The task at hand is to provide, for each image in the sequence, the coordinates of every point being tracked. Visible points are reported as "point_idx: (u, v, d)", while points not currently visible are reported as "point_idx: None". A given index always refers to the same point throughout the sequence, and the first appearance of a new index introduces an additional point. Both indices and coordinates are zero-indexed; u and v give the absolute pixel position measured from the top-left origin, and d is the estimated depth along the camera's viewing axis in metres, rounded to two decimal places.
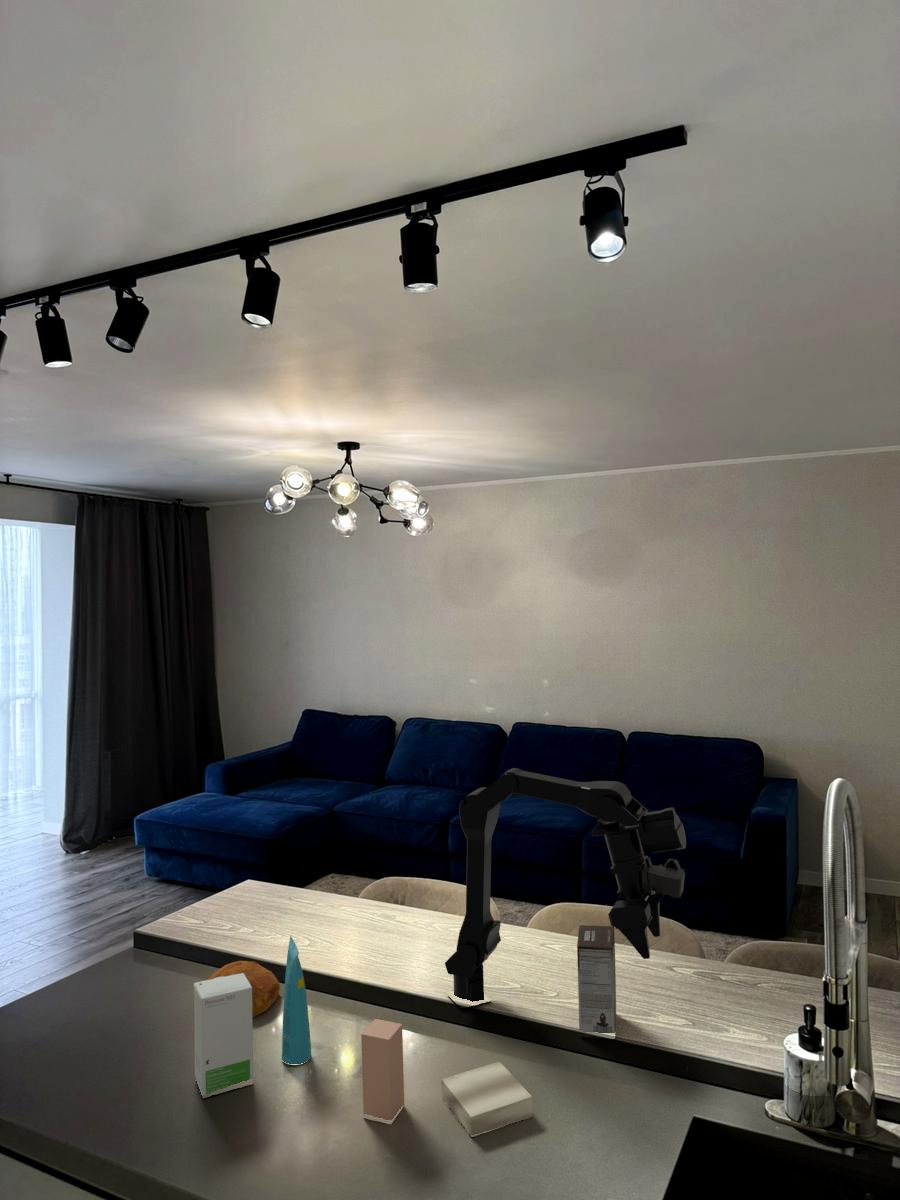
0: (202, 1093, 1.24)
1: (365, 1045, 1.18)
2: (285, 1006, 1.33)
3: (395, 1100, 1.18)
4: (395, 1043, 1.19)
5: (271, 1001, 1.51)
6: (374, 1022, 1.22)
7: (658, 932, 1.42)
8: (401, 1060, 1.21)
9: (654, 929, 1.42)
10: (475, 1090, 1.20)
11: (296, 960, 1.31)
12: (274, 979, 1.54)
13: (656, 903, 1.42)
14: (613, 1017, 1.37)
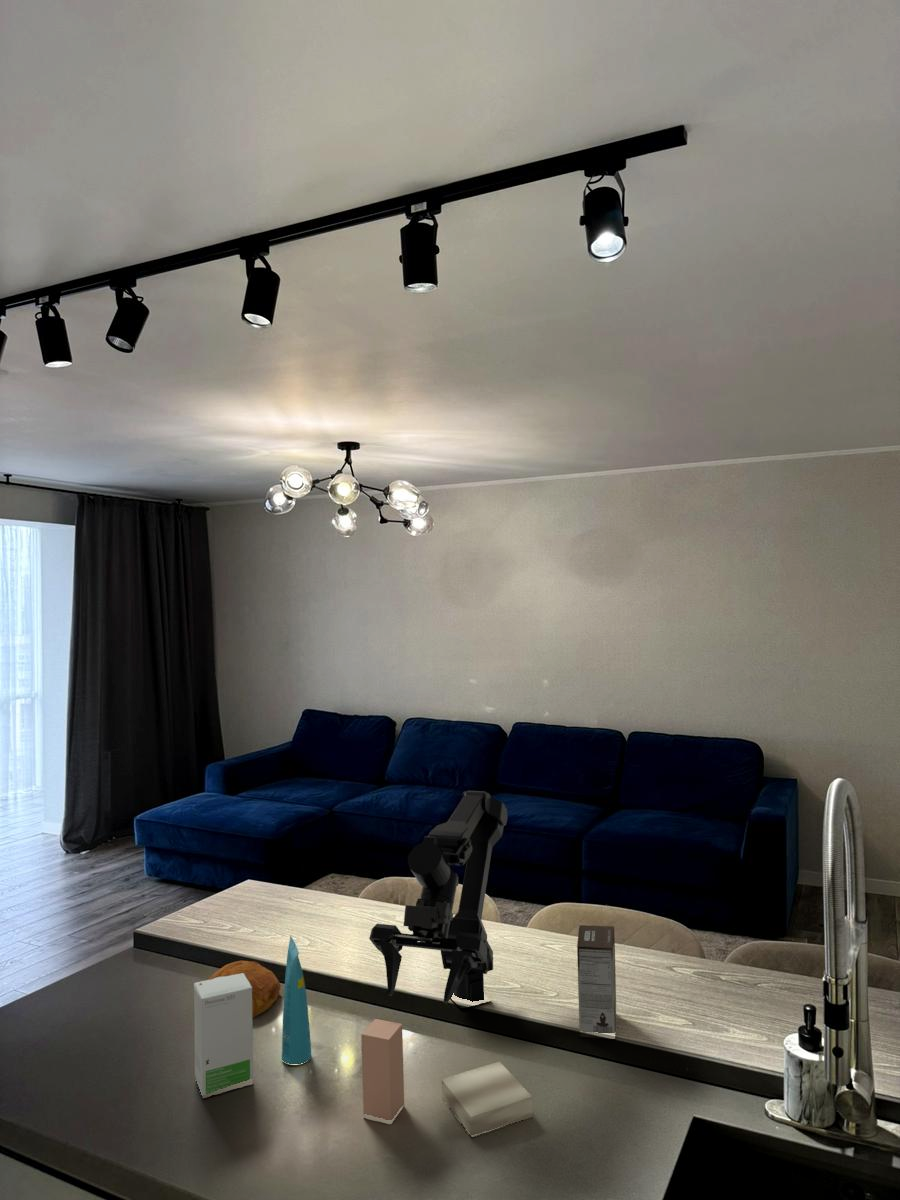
0: (202, 1093, 1.24)
1: (365, 1045, 1.18)
2: (285, 1006, 1.33)
3: (395, 1100, 1.18)
4: (395, 1043, 1.19)
5: (271, 1001, 1.51)
6: (374, 1022, 1.22)
7: (444, 996, 1.25)
8: (401, 1060, 1.21)
9: None
10: (475, 1090, 1.20)
11: (296, 960, 1.31)
12: (274, 979, 1.54)
13: (452, 962, 1.27)
14: (613, 1017, 1.37)
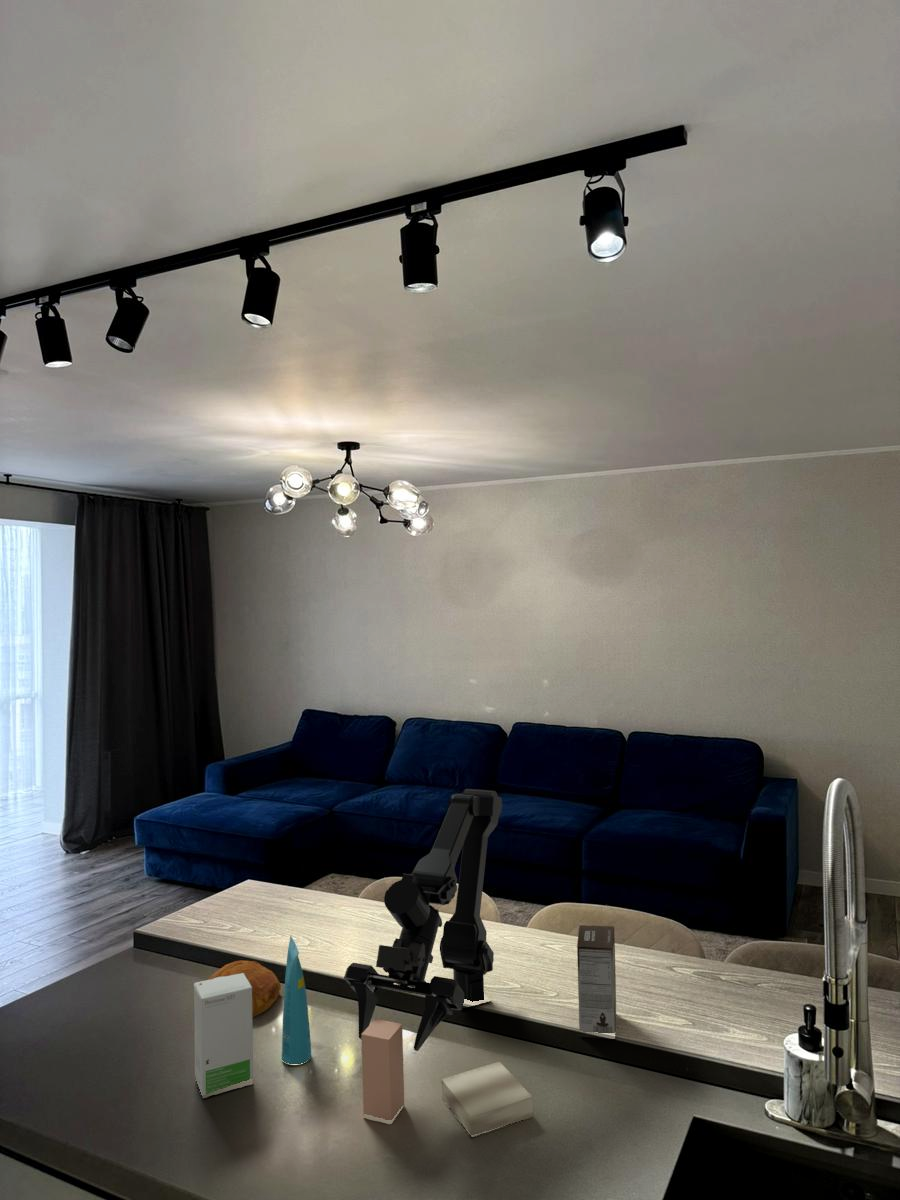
0: (202, 1093, 1.24)
1: (365, 1045, 1.18)
2: (285, 1006, 1.33)
3: (395, 1100, 1.18)
4: (395, 1043, 1.19)
5: (272, 1001, 1.51)
6: (374, 1022, 1.22)
7: None
8: (401, 1060, 1.20)
9: None
10: (475, 1090, 1.20)
11: (296, 960, 1.31)
12: (275, 979, 1.54)
13: (425, 1008, 1.22)
14: (613, 1017, 1.37)
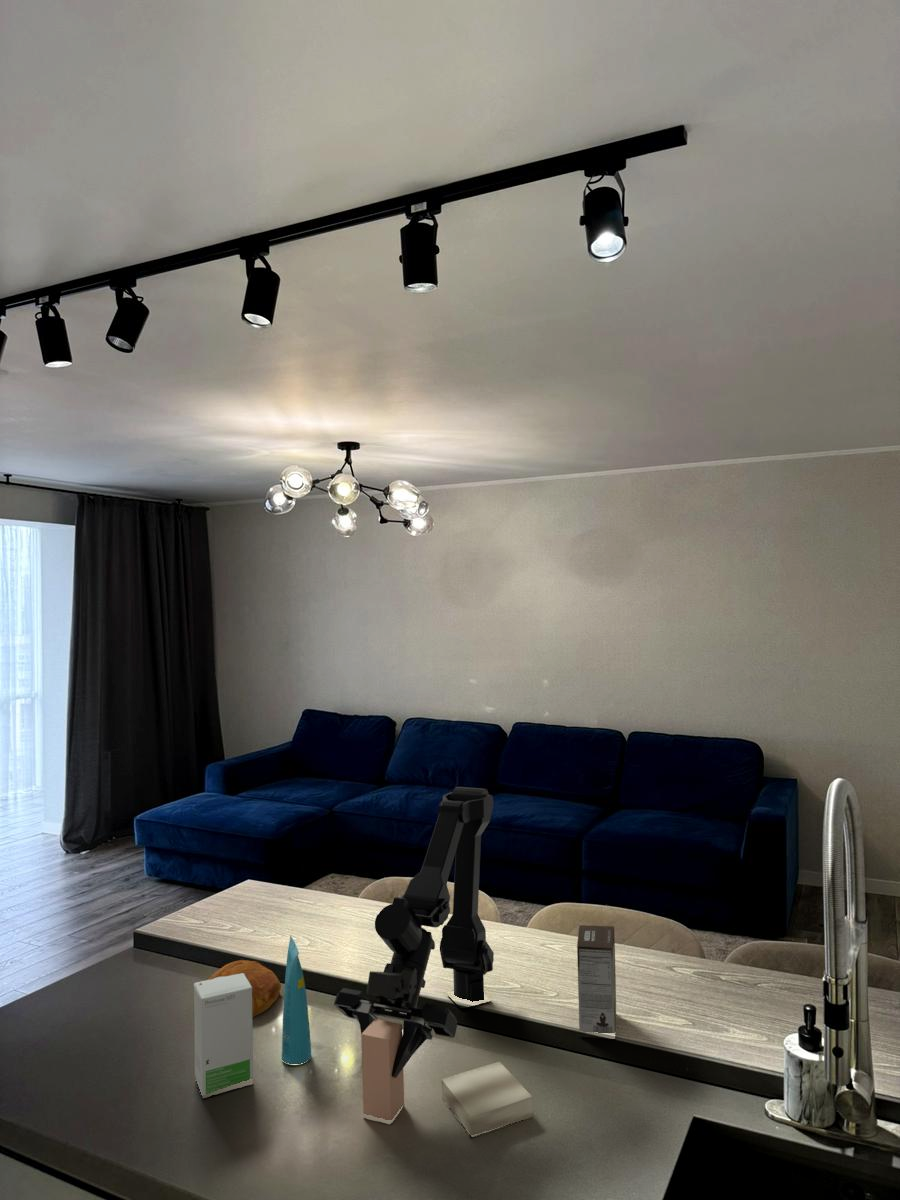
0: (202, 1093, 1.24)
1: (365, 1045, 1.18)
2: (285, 1006, 1.33)
3: (395, 1100, 1.18)
4: (395, 1043, 1.19)
5: (272, 1000, 1.51)
6: (374, 1022, 1.22)
7: (392, 1070, 1.18)
8: None
9: None
10: (475, 1090, 1.20)
11: (296, 960, 1.31)
12: (275, 979, 1.54)
13: None
14: (613, 1017, 1.37)
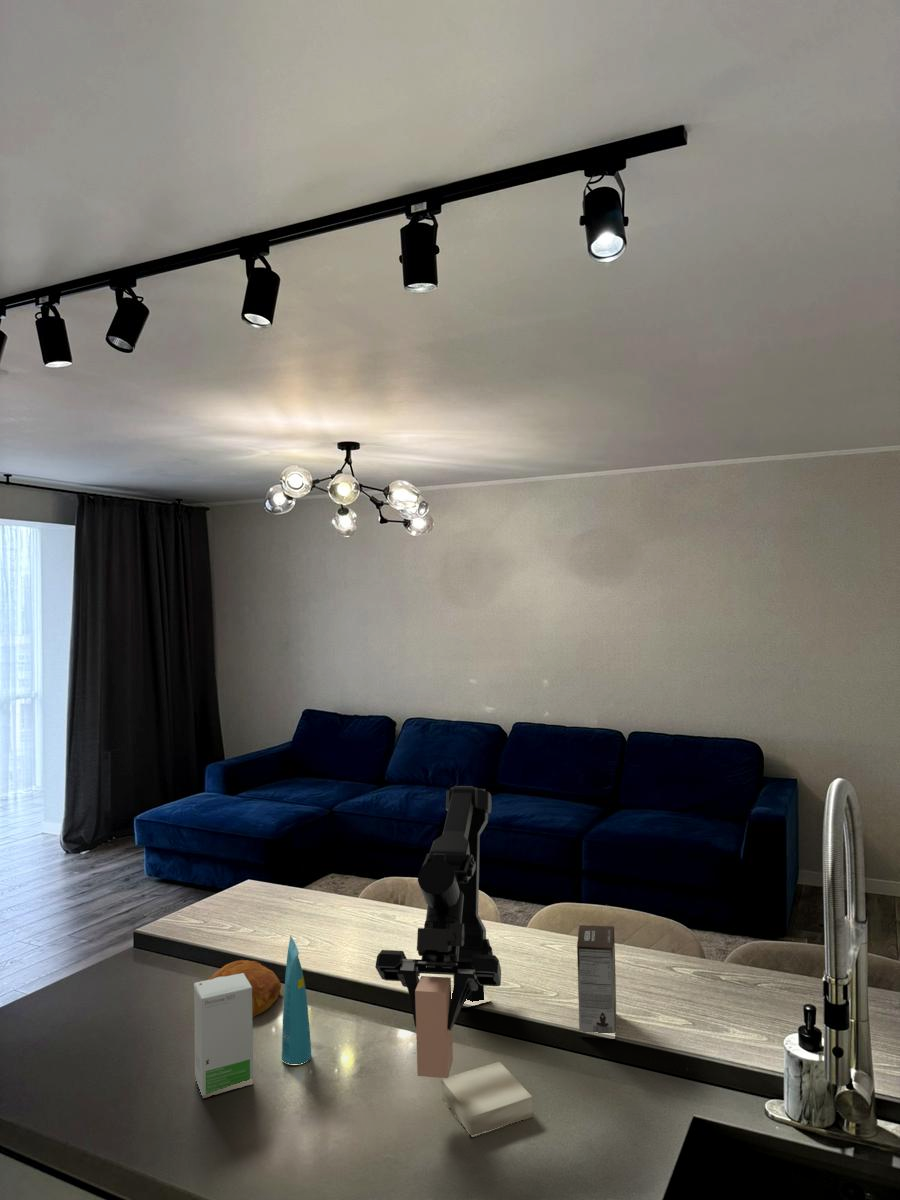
0: (202, 1093, 1.24)
1: (419, 1001, 1.17)
2: (285, 1006, 1.33)
3: (449, 1053, 1.18)
4: (448, 996, 1.19)
5: (272, 1000, 1.51)
6: (422, 979, 1.21)
7: None
8: None
9: None
10: (475, 1090, 1.20)
11: (296, 960, 1.31)
12: (275, 978, 1.54)
13: None
14: (613, 1017, 1.37)
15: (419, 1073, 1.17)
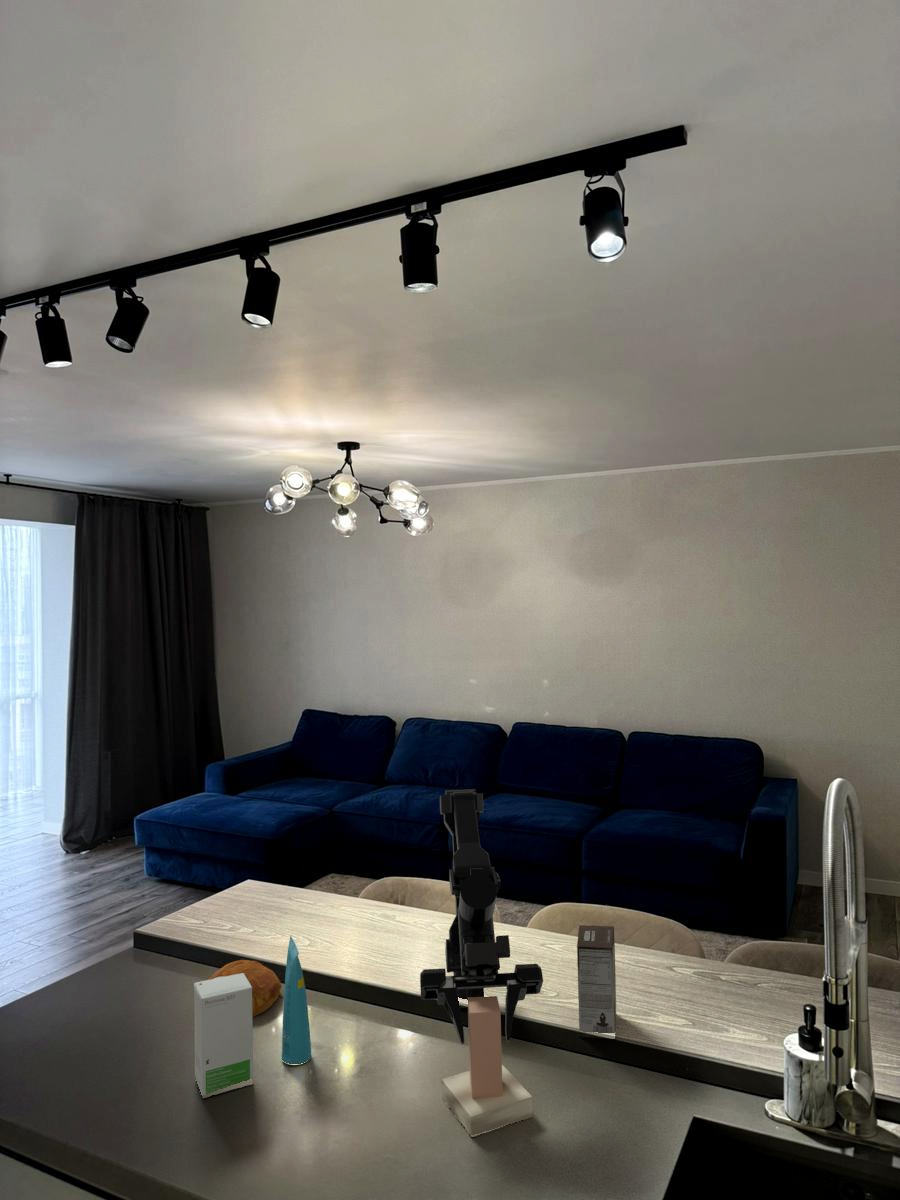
0: (202, 1093, 1.24)
1: (474, 1023, 1.18)
2: (285, 1006, 1.33)
3: None
4: None
5: (272, 1000, 1.51)
6: (470, 1000, 1.21)
7: (506, 1035, 1.19)
8: None
9: (505, 1031, 1.20)
10: None
11: (296, 960, 1.31)
12: (275, 978, 1.54)
13: (507, 998, 1.22)
14: (613, 1017, 1.37)
15: (473, 1095, 1.18)
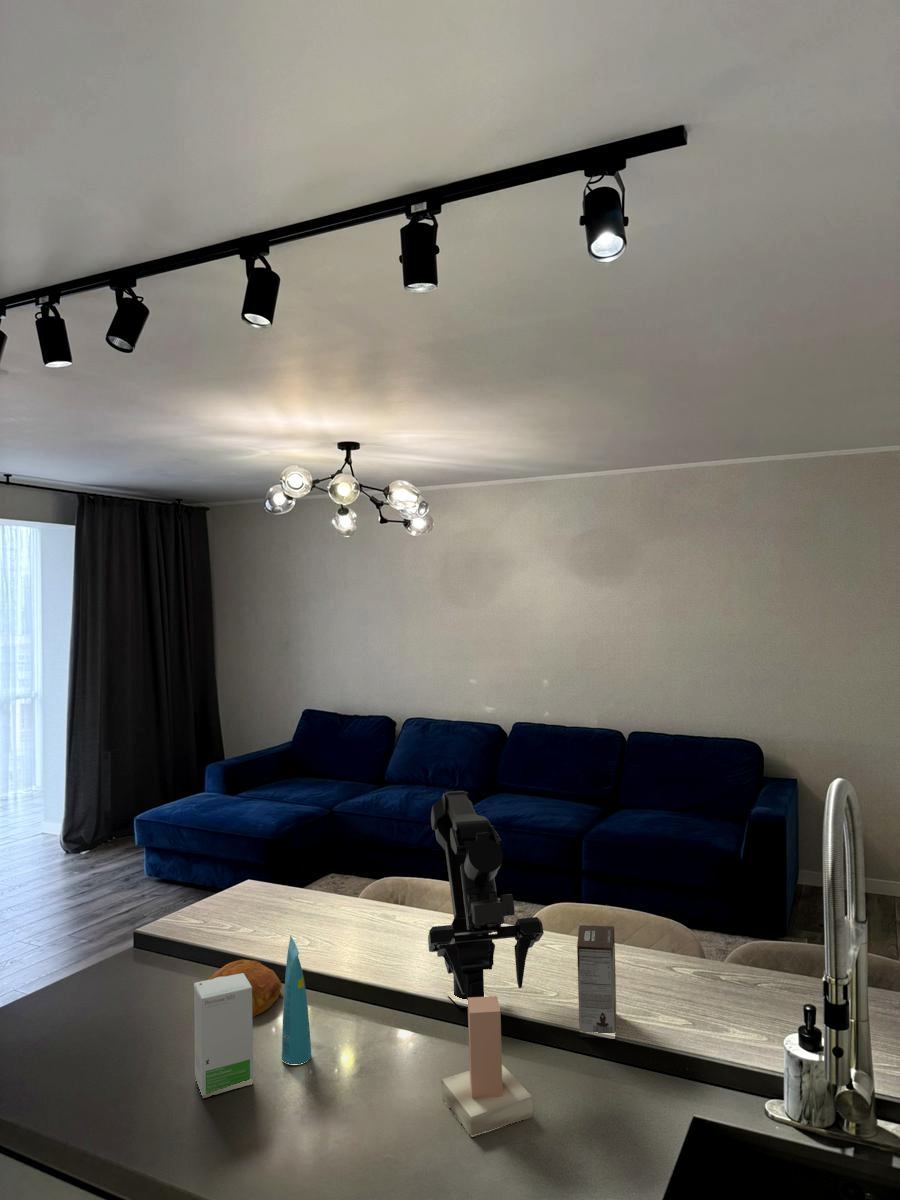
0: (202, 1093, 1.24)
1: (474, 1023, 1.18)
2: (285, 1006, 1.33)
3: None
4: None
5: (272, 1000, 1.51)
6: (470, 1000, 1.21)
7: (518, 982, 1.30)
8: None
9: (517, 979, 1.30)
10: None
11: (296, 960, 1.31)
12: (275, 978, 1.54)
13: (518, 949, 1.32)
14: (613, 1017, 1.37)
15: (473, 1095, 1.18)
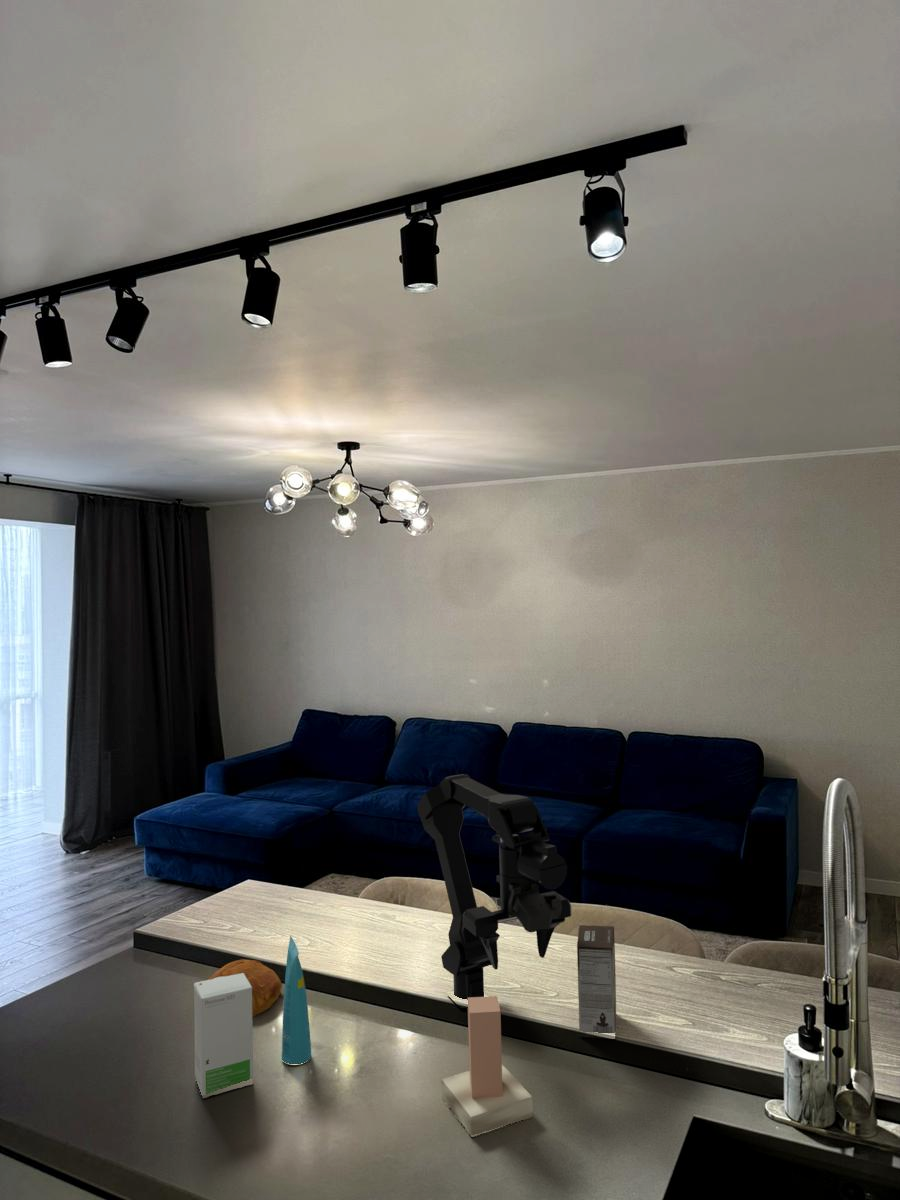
0: (202, 1093, 1.24)
1: (474, 1023, 1.18)
2: (285, 1006, 1.33)
3: None
4: None
5: (273, 1000, 1.51)
6: (470, 1000, 1.21)
7: (542, 954, 1.40)
8: None
9: (540, 949, 1.41)
10: None
11: (296, 960, 1.31)
12: (276, 978, 1.54)
13: None
14: (613, 1017, 1.37)
15: (473, 1095, 1.18)
